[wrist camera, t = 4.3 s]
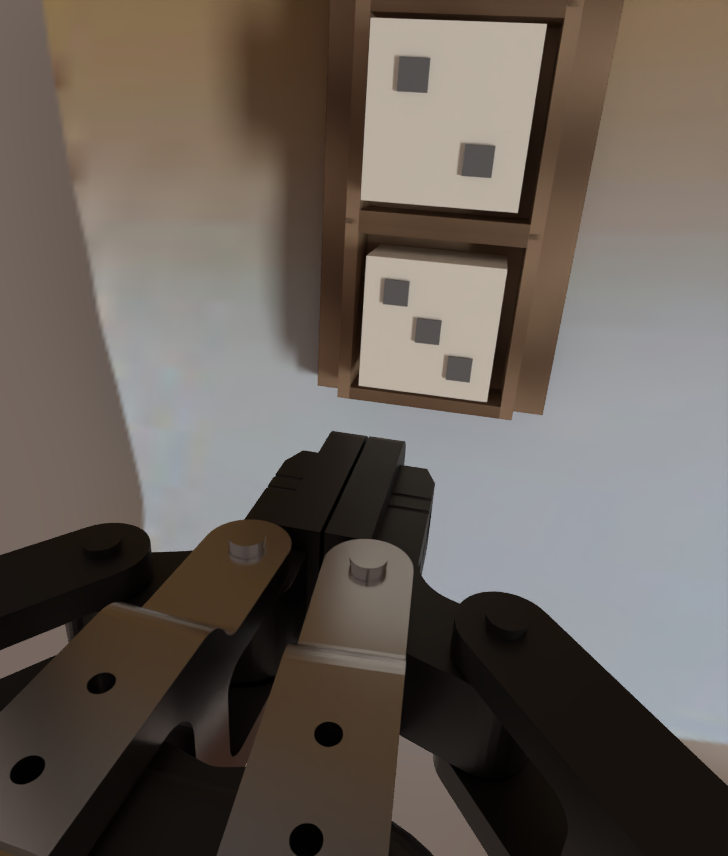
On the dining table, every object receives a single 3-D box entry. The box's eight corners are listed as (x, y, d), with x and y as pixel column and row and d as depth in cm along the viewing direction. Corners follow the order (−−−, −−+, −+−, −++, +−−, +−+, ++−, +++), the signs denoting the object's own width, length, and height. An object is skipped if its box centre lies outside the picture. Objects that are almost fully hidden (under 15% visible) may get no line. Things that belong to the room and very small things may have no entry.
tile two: (387, 34, 21) (369, 16, 18) (541, 40, 20) (547, 23, 17) (377, 193, 23) (359, 200, 20) (516, 205, 22) (517, 213, 19)
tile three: (381, 244, 25) (365, 256, 22) (507, 255, 24) (507, 269, 22) (372, 362, 27) (357, 386, 25) (488, 376, 27) (486, 403, 24)
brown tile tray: (347, -260, 20) (321, -326, 18) (671, -271, 19) (701, -346, 16) (324, 376, 30) (305, 401, 27) (541, 404, 28) (545, 433, 25)
